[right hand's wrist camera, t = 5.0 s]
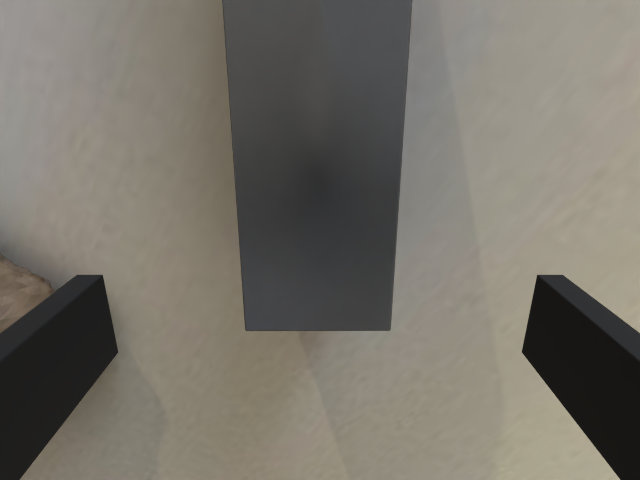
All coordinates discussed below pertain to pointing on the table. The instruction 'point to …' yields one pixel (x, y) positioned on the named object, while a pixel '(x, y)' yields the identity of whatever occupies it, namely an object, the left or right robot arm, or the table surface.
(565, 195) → the table surface
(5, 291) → the stone
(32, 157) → the table surface
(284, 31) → the box
